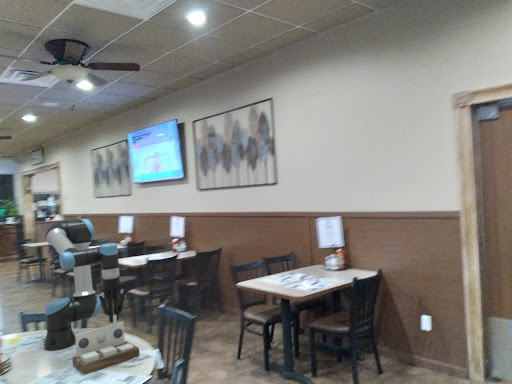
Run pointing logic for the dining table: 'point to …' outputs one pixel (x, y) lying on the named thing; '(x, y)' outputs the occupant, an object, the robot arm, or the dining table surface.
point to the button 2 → (125, 347)
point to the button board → (105, 360)
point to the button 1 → (89, 357)
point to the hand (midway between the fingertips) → (114, 328)
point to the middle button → (107, 351)
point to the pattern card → (99, 339)
